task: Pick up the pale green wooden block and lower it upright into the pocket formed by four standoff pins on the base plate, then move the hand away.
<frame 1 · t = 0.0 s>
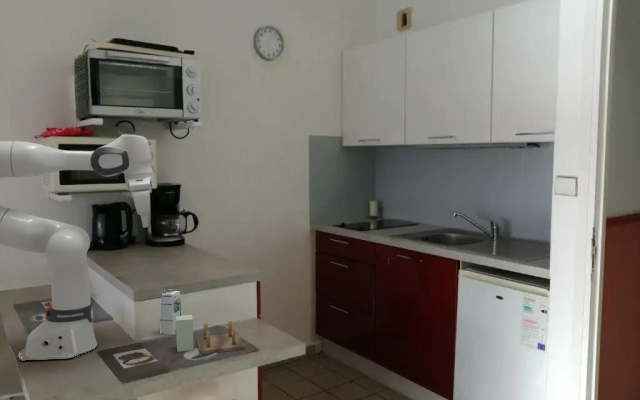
hand: (146, 225, 173), 39 cm above the table, tool pointing down, fingers open, 8 cm apart
green block: (185, 348, 170), on the table
syrup box: (170, 332, 186), on the table
standoff base: (219, 344, 173), on the table
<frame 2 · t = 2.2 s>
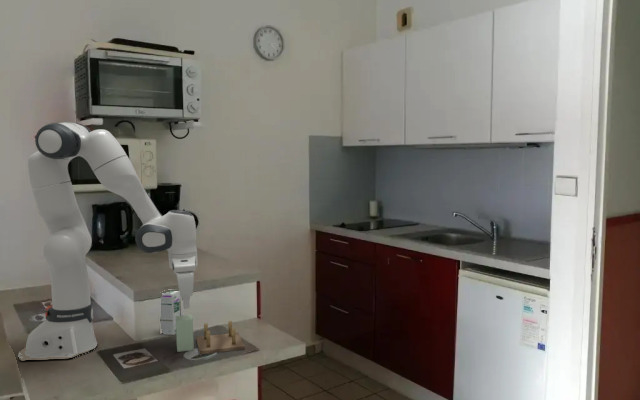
hand: (185, 304, 169), 14 cm above the table, tool pointing down, fingers open, 8 cm apart
nothing on the table moved.
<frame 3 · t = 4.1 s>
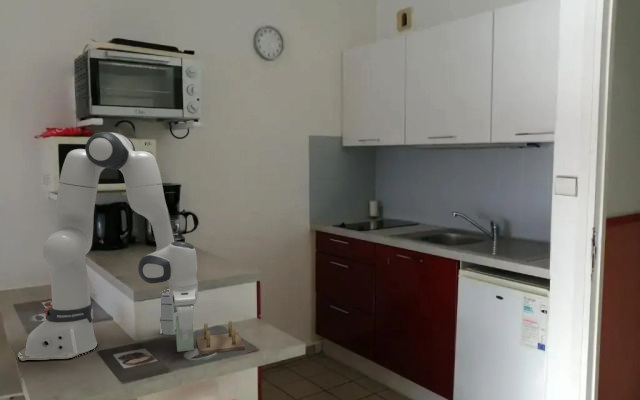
hand: (184, 335, 170), 4 cm above the table, tool pointing down, fingers closed on green block, 5 cm apart
green block: (185, 348, 170), on the table, touching gripper
everything else where it was.
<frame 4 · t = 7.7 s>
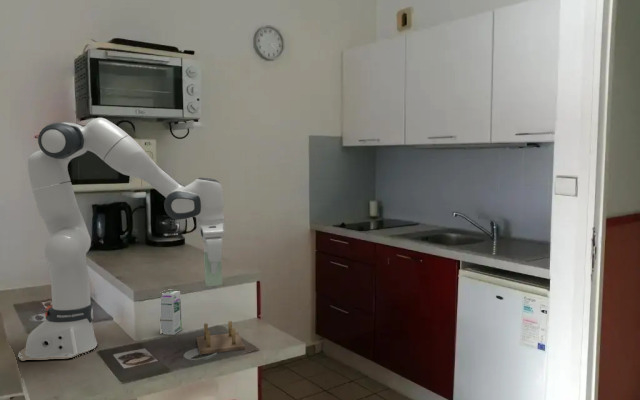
hand: (213, 271, 171), 24 cm above the table, tool pointing down, fingers closed on green block, 5 cm apart
green block: (213, 283, 171), point 20 cm above the table, touching gripper
everything else where it was.
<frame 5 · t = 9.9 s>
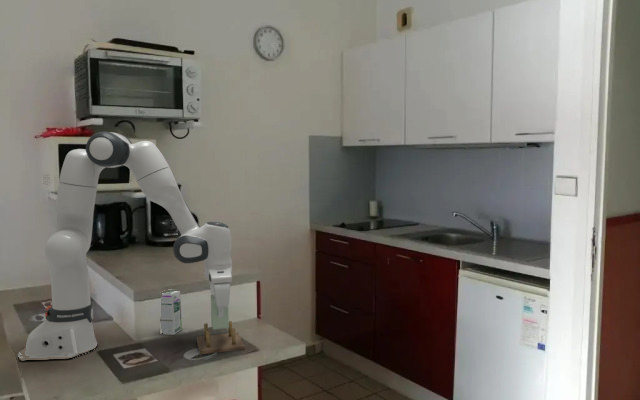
hand: (219, 314, 173), 10 cm above the table, tool pointing down, fingers closed on green block, 5 cm apart
green block: (220, 326, 173), point 6 cm above the table, touching gripper
everything else where it was.
when the fingers open (6 cm above the table, at t = 11.4 s): green block drops 1 cm, resting on standoff base.
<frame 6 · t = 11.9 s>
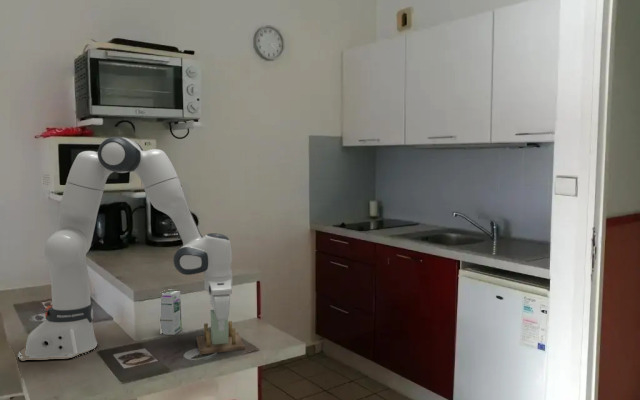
hand: (219, 325, 173), 6 cm above the table, tool pointing down, fingers open, 8 cm apart
green block: (219, 341, 173), point 1 cm above the table, touching standoff base
everything else where it was.
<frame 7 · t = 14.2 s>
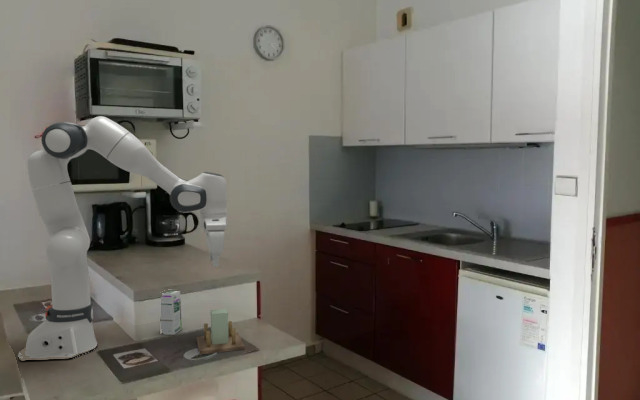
hand: (214, 263, 175), 26 cm above the table, tool pointing down, fingers open, 8 cm apart
nothing on the table moved.
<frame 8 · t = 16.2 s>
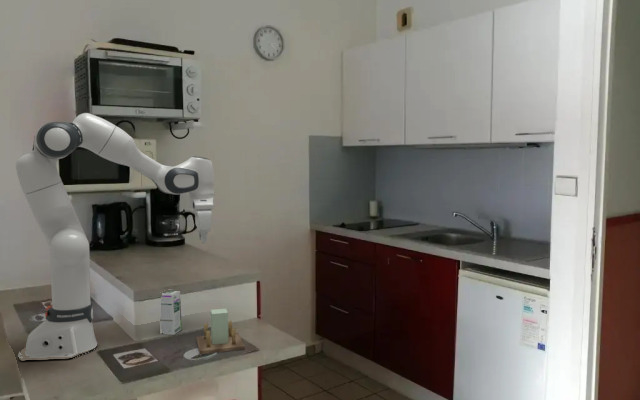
hand: (203, 241, 189), 31 cm above the table, tool pointing down, fingers open, 8 cm apart
nothing on the table moved.
at the end: green block 0.0 cm off-centre on the standoff base, point 1.0 cm above the standoff base's base; green block tilted 0°; the gripper is holding nothing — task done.
